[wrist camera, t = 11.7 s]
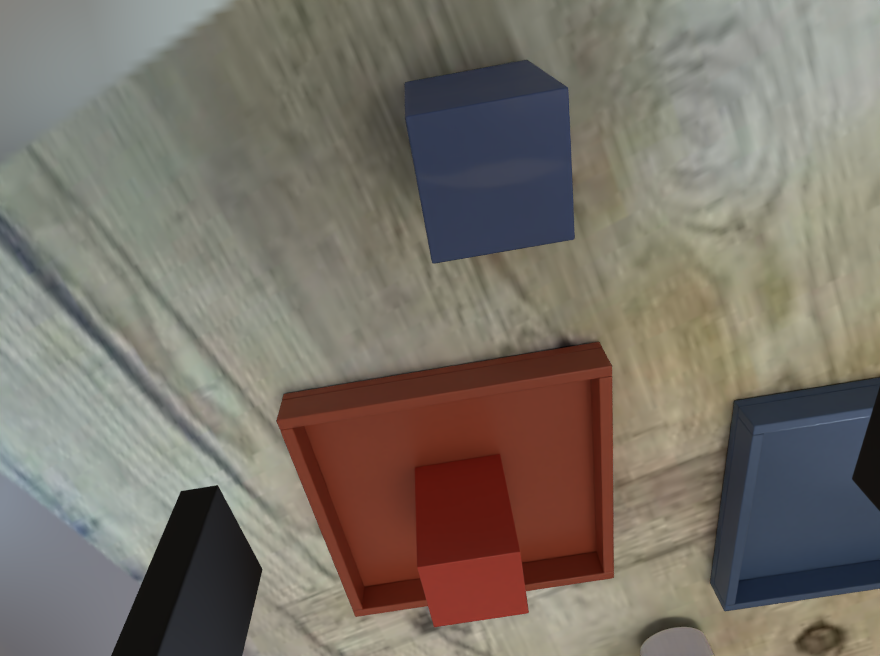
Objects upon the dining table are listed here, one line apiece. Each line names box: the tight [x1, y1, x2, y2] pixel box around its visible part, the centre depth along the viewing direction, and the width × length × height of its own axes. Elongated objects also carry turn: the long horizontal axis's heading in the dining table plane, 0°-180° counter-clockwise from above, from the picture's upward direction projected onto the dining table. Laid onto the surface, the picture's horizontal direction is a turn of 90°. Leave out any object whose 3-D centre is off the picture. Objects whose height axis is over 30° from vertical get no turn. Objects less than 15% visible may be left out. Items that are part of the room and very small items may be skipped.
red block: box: [415, 454, 529, 627], centre depth 29 cm, size 4×4×6 cm
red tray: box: [276, 342, 614, 617], centre depth 31 cm, size 15×15×2 cm
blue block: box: [404, 60, 575, 263], centre depth 20 cm, size 4×4×6 cm
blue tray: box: [710, 378, 880, 611], centre depth 32 cm, size 15×15×2 cm
